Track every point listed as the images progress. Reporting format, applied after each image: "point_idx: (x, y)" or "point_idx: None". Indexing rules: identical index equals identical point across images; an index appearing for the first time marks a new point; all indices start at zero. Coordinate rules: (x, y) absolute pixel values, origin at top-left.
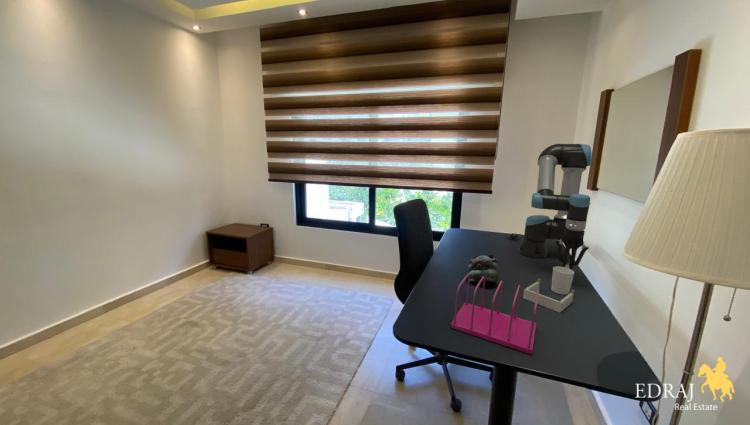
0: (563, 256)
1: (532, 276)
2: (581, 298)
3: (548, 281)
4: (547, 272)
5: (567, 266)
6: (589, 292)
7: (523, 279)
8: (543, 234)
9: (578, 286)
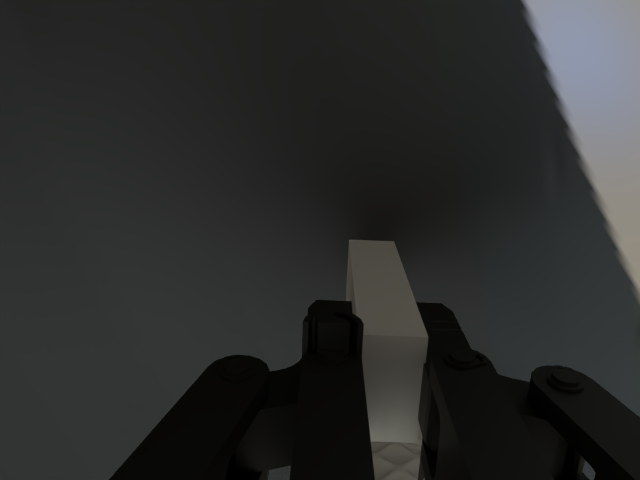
0: (236, 425)
1: (49, 331)
2: None
3: (219, 330)
4: (77, 41)
5: (388, 427)
6: (613, 279)
7: (46, 470)
8: None
9: (495, 205)
